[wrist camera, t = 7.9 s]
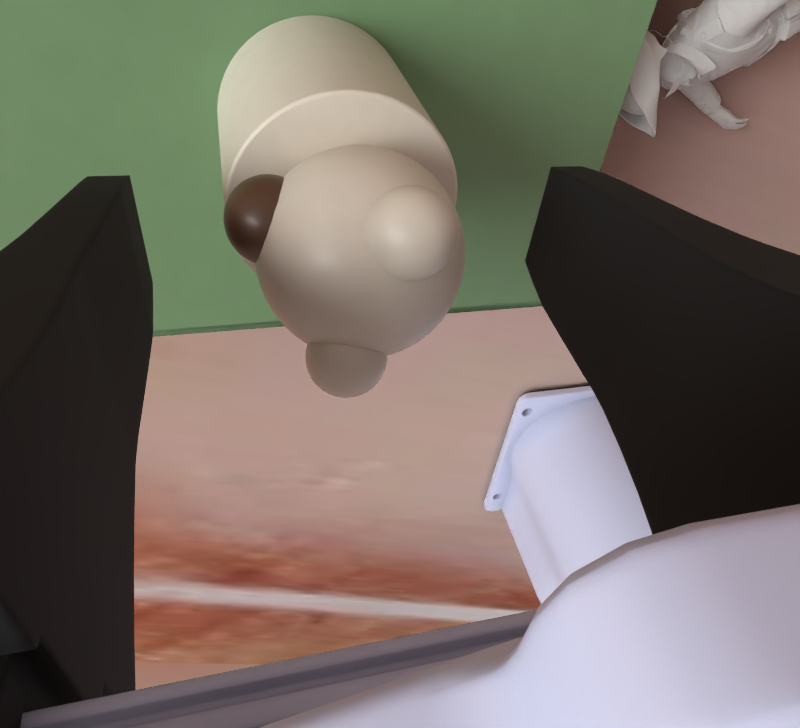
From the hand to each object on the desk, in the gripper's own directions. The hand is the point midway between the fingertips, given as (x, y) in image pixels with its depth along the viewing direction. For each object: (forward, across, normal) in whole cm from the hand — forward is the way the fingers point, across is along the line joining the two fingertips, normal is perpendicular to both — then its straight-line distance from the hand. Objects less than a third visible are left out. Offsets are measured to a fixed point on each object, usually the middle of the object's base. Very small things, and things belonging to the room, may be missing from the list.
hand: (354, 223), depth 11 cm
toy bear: (+4, 0, 0) cm, 4 cm away
